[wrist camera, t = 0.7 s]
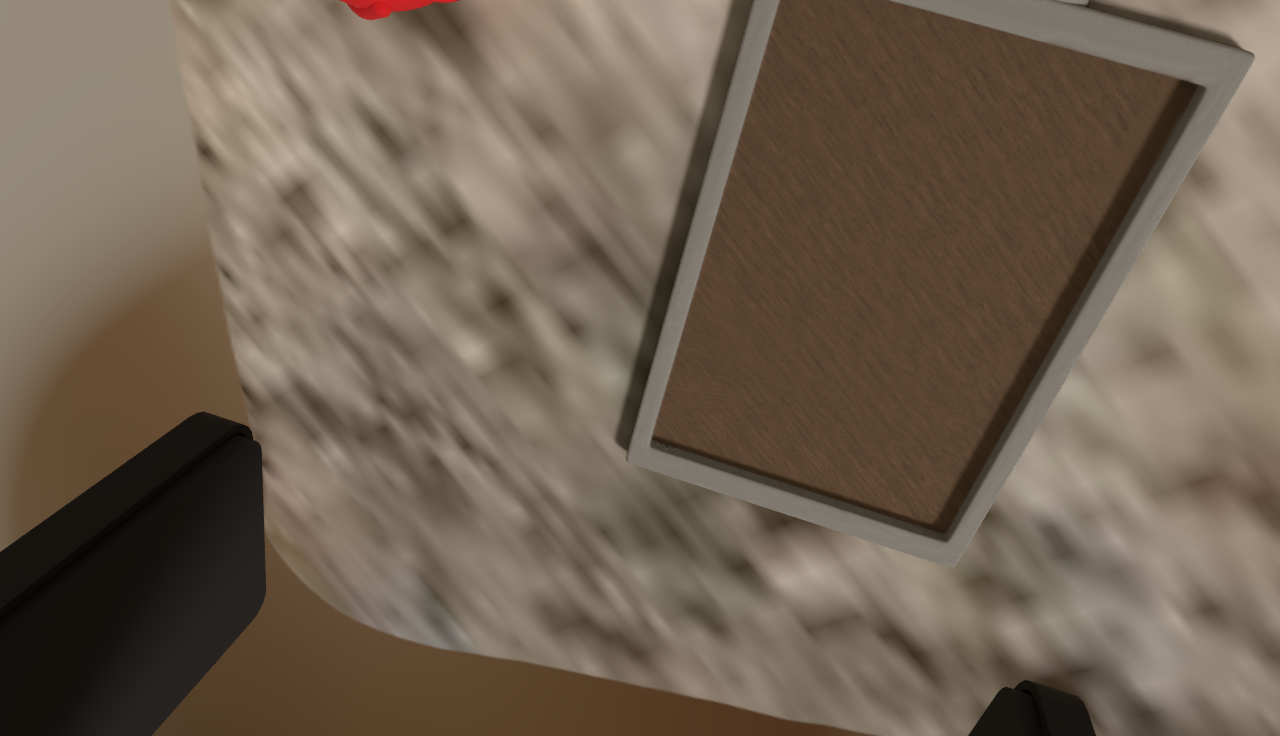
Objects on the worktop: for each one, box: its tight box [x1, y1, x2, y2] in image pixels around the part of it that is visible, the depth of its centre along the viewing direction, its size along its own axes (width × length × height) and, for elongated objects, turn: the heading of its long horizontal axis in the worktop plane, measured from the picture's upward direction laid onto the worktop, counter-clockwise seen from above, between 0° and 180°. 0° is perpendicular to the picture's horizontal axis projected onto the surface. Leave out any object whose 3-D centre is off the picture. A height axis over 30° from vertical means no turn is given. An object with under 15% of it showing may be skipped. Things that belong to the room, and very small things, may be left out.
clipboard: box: [626, 0, 1255, 567], centre depth 37 cm, size 19×2×30 cm
